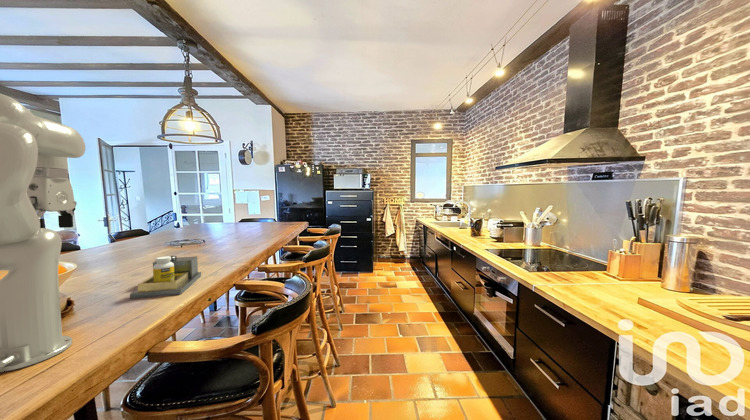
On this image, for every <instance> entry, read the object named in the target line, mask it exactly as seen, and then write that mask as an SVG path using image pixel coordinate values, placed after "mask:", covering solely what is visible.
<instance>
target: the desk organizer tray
mask: <svg viewBox="0 0 750 420" xmlns="http://www.w3.org/2000/svg"><path fill="white" fill-rule="evenodd" d="M169 256H170V257H171V260H170V262H172V263H174V281H168V282H155V283H154V277H153V275H152V276H150V277H148V278H147V279H145V280H143V281H142V282H140V283H138V284H137V289H135V290H134V291H132V292H130V293H129V300H134V299H135V300H136V299H146V298H155V297H166V296H167V297H169V296H177V295H178V296H179V295H182V294H183V293H184V292H186V290H188V289H189V288H190V287H191V286H192V285H193V284H194V283H195V282H197V281H198V280H199V279H200V278H202V272H201V271H199V266H198V256H184V257H181V256H180V257H178V256H177V255H169ZM155 264H157V262H156V260H155V261H153V262H152V267H153V266H154V265H155Z"/></svg>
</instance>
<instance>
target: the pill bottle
mask: <svg viewBox="0 0 750 420" xmlns="http://www.w3.org/2000/svg"><path fill="white" fill-rule="evenodd" d="M170 256H171V255H168V256H167V255H165V256H164V255H163V256H159V257H156V258H155V261H156V262H157V264H155V265H154V266H153V265H152V272H153V274H152V276H153V277H154V283H155V282H168V281H174V263H172V262H170V260H171V257H170Z"/></svg>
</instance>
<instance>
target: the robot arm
mask: <svg viewBox="0 0 750 420" xmlns="http://www.w3.org/2000/svg"><path fill="white" fill-rule="evenodd" d="M85 153H86V143H85V140H84V138H83V137H82V135H81V134H80V133H79V132H78V131H77V130H76V129H75V128H73V127H70V126H69V125H66V124H62V123H60V122H56V121H54V120H53V121H52V120H49V119H47V118H44V117H41V116H39V115H38V116H37V115H34V114H33V112H31V110H29V109H28V108H27V107H25V106H24V105H23V104H22V103H21V102H19V101H18V100H16V99H15V98H13V97H11V96H8V95H6V94H2V93H0V271H1V272H2V271H7V272H8V273H7V274H6V275H4V276H3V277H2V278H1V279H0V373H4V371H5V372H9V371H14V370H18V369H22V368H25V367H29V366H31V365H34V364H38V363H40V362H43V361H46V360H48V359H50V358H52V357H55V356H56V355H59V354H61V353H62V352H64V351H66V350H67V349H68V348H69V347H70V346H71V345H72V344H73V338H72V336H69V335H63V329H62V328H63V327H62V314H61V313H62V312H61V298H60V297H61V296H60V285H59V283H60V282H59V263H60V256H61V250H62V245H63V243H62V242H63V241H62V237H61V235H60V234H59V233H58V232H57V231H55V230H53V229H50V228H46V225H45V218H42V217H43V216H44V214H45V213H46V212H57V213H58V214H59V215H58V216H57V217H58V218H57V219H58V220H57V222H58V227H59V228H61V229H63V228H65V229H66V228H67V229H68V228H74V216H75V211H76V207H77V204H78V202H77V201H75V196H74V190H73V187H72V183H71V180H70V179H69V170H68V169H69V168H68V158H69V159H78V158H81V157H83V156H84V154H85Z"/></svg>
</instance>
